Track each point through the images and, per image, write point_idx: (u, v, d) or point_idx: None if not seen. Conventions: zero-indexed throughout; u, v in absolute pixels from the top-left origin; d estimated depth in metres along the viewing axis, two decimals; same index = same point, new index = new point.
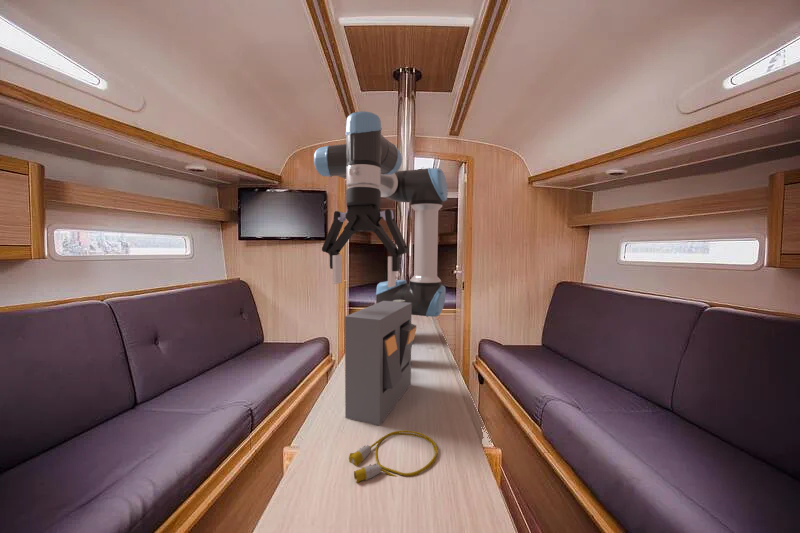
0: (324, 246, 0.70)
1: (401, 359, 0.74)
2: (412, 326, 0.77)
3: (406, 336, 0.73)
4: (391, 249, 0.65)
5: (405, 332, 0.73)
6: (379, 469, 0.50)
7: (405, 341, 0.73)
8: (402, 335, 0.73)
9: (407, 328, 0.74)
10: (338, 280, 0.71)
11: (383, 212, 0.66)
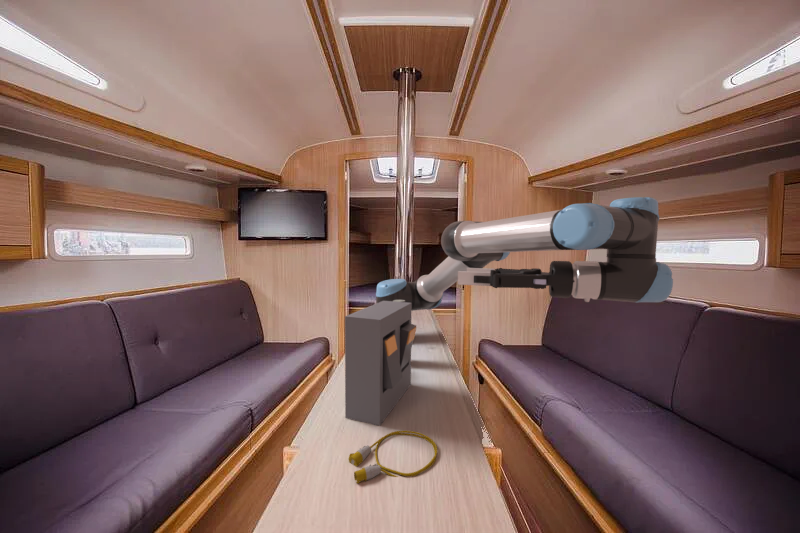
0: None
1: (401, 359, 0.74)
2: (412, 326, 0.77)
3: (406, 336, 0.73)
4: None
5: (405, 332, 0.73)
6: (379, 469, 0.49)
7: (405, 341, 0.73)
8: (402, 335, 0.73)
9: (407, 328, 0.74)
10: None
11: None
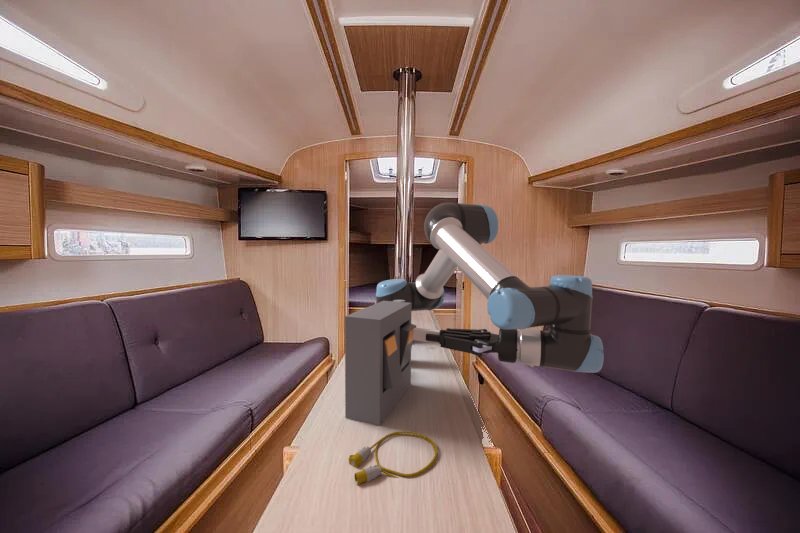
0: None
1: (401, 359, 0.74)
2: (412, 326, 0.77)
3: (406, 336, 0.73)
4: None
5: (405, 332, 0.73)
6: (380, 470, 0.49)
7: (405, 341, 0.73)
8: (402, 335, 0.73)
9: (407, 328, 0.74)
10: None
11: None
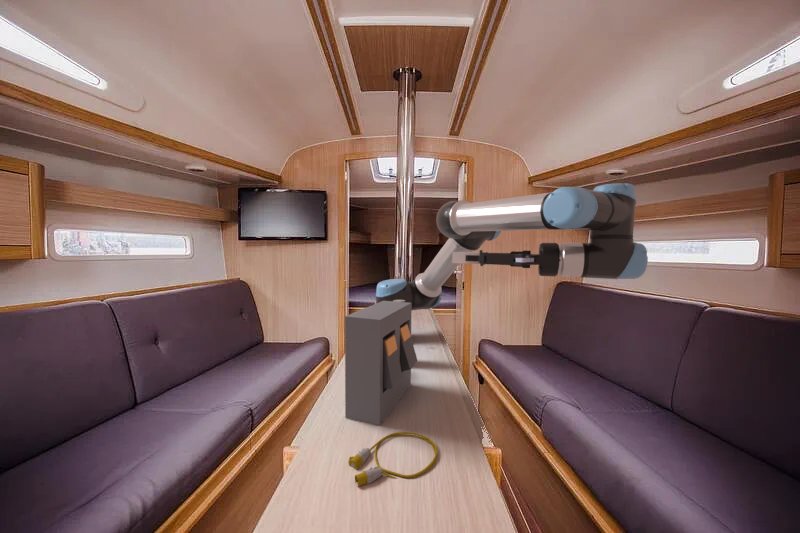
0: None
1: (405, 358, 0.73)
2: (402, 324, 0.78)
3: None
4: None
5: None
6: (380, 472, 0.49)
7: (400, 339, 0.73)
8: None
9: None
10: None
11: None
